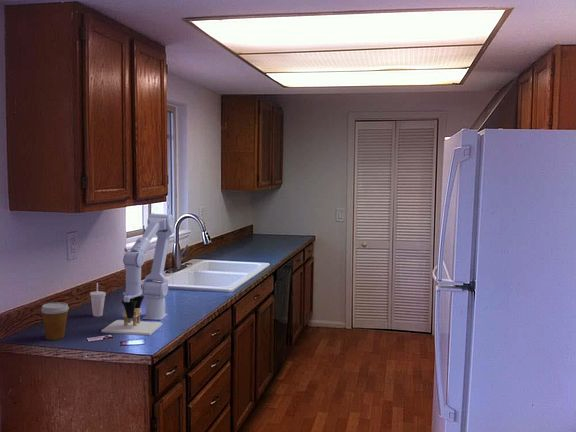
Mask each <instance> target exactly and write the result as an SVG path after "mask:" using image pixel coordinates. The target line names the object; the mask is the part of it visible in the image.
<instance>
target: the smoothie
mask: <svg viewBox="0 0 576 432" xmlns="http://www.w3.org/2000/svg"><path fill="white" fill-rule="evenodd" d="M89 296H90V300H91V309H92V310H91V311H92V316H93V317H95V318H96V317H98V318H99V317H102V316H103V314H104V306H105V299H106V296H107V292H105V291H99V282H96V291H91V292H89Z"/></svg>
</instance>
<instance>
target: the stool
mask: <svg viewBox="0 0 576 432" xmlns="http://www.w3.org/2000/svg"><path fill="white" fill-rule="evenodd" d="M141 315H142V307H140V308H135V310H134V316H133V318H127V314H126V310H125V309H124V310H122V317H123V320H124V325H125V326H127V325H128V323H131V321H133V326H136V325H137V324H139V323H140V321H141Z"/></svg>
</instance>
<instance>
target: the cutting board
mask: <svg viewBox="0 0 576 432" xmlns="http://www.w3.org/2000/svg"><path fill="white" fill-rule="evenodd" d="M161 326H163V322H158V321H157V322H156V321H155V322H154V321H142V320H140V323H139V324H137V325H136V326H133V320H131V323H128V325H127V326H125V325H124V319H116V320H115V321H113V322H112V323H110V324H108V325H107V326H105V327H104V328H103V329H101V333H108V334H122V335H123V334H125V335H126V334H127V335H140V336H151V335H152V334H153V333H154V332H156V331H157V330H158V329H159V328H160V327H161Z"/></svg>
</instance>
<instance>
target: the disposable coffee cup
mask: <svg viewBox="0 0 576 432" xmlns="http://www.w3.org/2000/svg"><path fill="white" fill-rule="evenodd" d="M69 310H70V307H69V305H68V303H66V302H49V303H44V304H43V305H41V308H40V311H41V313H42V320H43V328H44V335H45V339H46V340H50V341H53V340H54V341H56V340H62V339H63V338H65V333H66V324H67V318H68V311H69Z"/></svg>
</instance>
